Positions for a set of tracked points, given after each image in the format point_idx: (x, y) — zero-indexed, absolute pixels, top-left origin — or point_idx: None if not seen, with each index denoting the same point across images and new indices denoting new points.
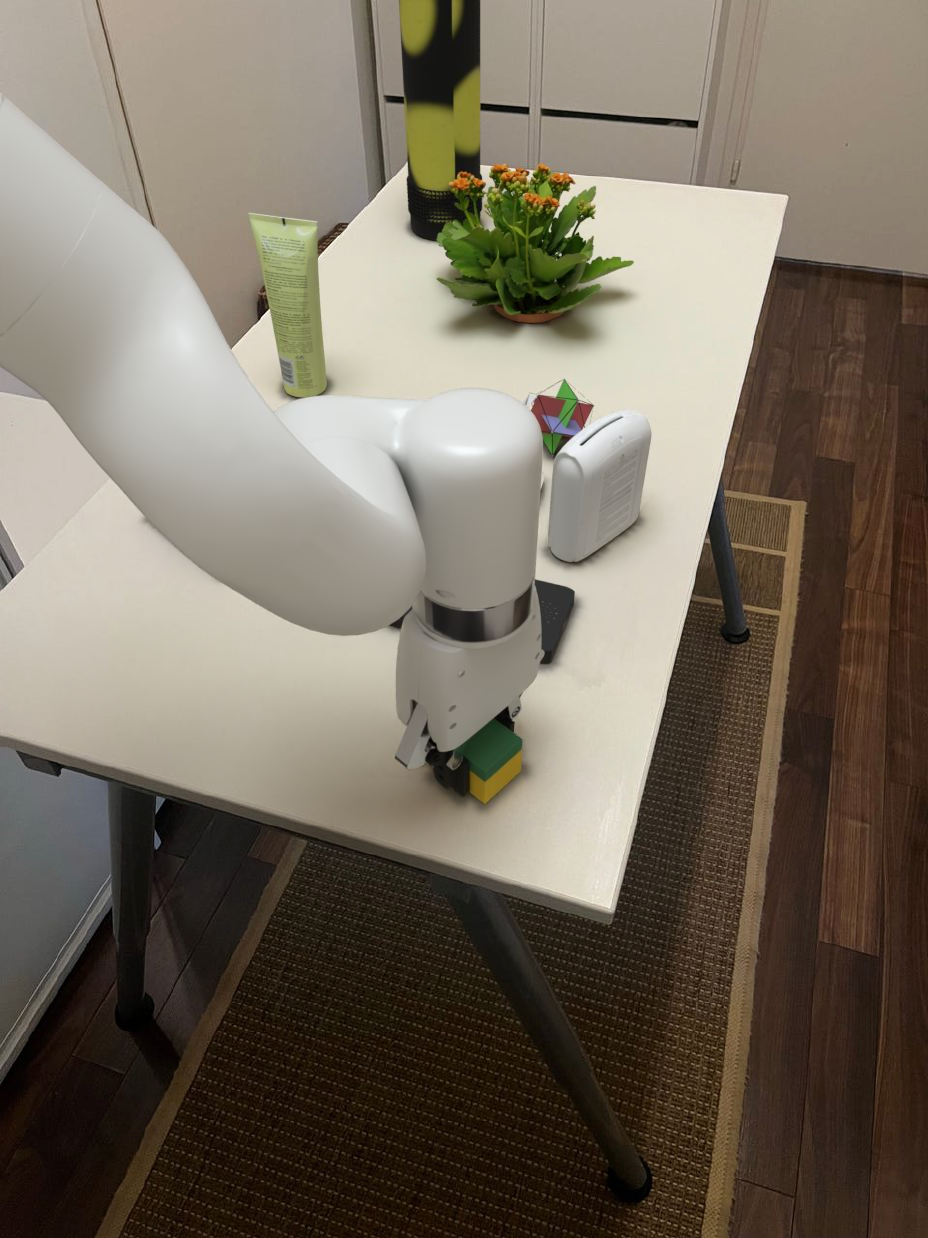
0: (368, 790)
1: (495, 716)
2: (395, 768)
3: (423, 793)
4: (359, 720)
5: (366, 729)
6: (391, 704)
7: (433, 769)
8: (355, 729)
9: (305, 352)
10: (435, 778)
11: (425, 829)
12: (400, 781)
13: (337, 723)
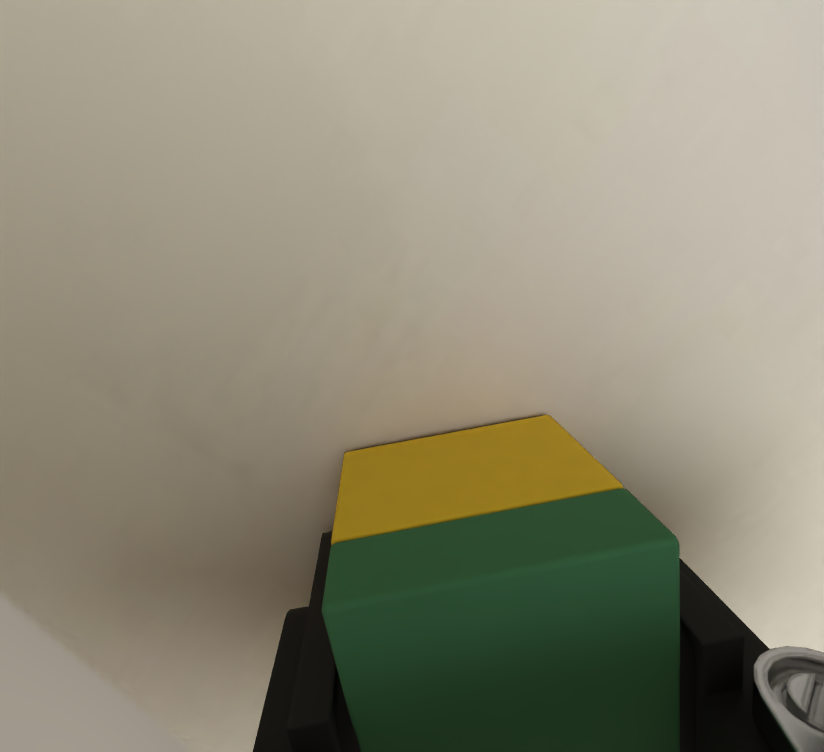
0: (66, 438)
1: (695, 746)
2: (214, 413)
3: (251, 556)
4: (193, 75)
5: (199, 152)
6: (382, 93)
7: (322, 539)
8: (150, 114)
9: None
10: (291, 609)
11: (185, 662)
12: (202, 472)
13: (79, 10)
